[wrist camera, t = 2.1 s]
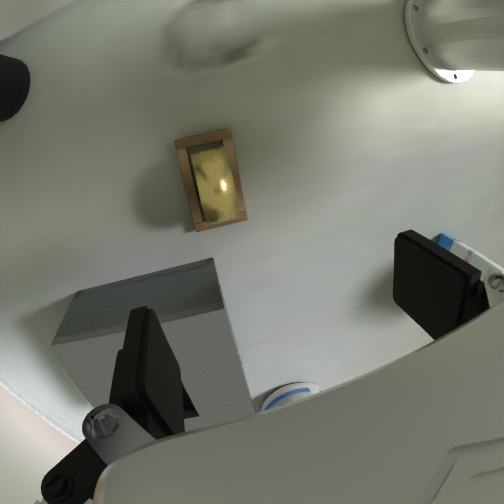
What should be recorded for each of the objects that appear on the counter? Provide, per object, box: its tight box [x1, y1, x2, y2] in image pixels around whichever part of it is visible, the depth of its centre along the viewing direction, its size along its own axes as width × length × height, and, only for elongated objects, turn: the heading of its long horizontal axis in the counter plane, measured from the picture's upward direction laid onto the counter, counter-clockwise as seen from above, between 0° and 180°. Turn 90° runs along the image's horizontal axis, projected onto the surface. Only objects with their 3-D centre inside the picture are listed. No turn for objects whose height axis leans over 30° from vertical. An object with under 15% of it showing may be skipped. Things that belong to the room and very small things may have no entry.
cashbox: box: [51, 258, 255, 432], centre depth 29 cm, size 15×15×9 cm
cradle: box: [175, 129, 248, 232], centre depth 27 cm, size 8×5×1 cm, turn 10°
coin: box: [191, 146, 239, 226], centre depth 25 cm, size 3×6×6 cm, turn 10°
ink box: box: [437, 233, 504, 281], centre depth 32 cm, size 8×5×12 cm, turn 71°
